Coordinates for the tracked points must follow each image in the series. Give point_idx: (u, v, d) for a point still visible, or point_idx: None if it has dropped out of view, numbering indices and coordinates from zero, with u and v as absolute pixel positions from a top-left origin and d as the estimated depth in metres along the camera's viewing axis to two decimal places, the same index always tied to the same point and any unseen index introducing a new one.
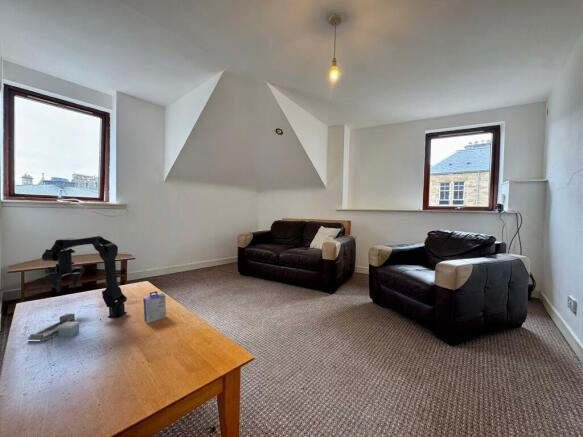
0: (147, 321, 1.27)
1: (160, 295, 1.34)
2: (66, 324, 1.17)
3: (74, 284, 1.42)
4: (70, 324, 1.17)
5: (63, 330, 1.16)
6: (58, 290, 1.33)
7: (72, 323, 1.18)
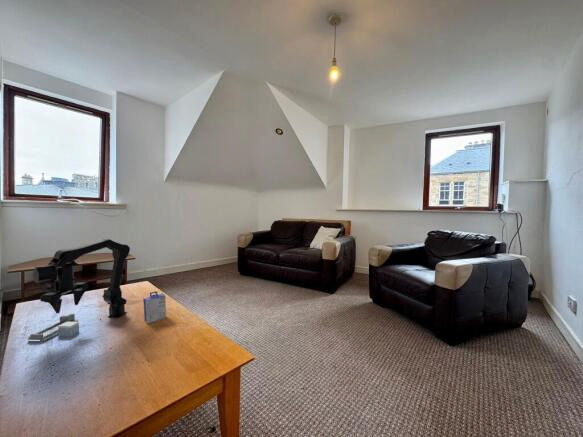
0: (147, 321, 1.27)
1: (160, 295, 1.34)
2: (66, 324, 1.17)
3: (76, 303, 1.22)
4: (70, 324, 1.17)
5: (63, 330, 1.16)
6: (57, 311, 1.12)
7: (72, 323, 1.18)
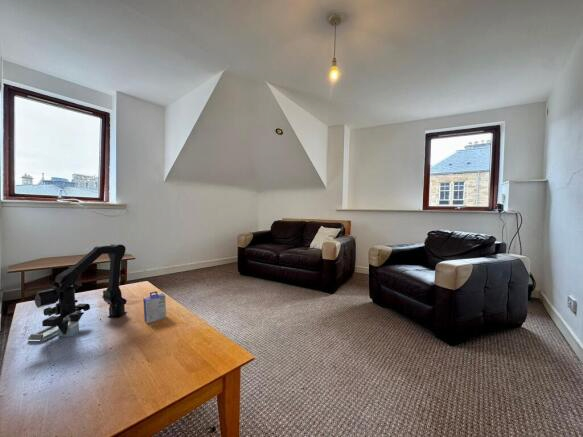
0: (147, 321, 1.27)
1: (160, 295, 1.34)
2: None
3: None
4: (70, 323, 1.17)
5: None
6: (64, 332, 1.15)
7: (72, 323, 1.18)
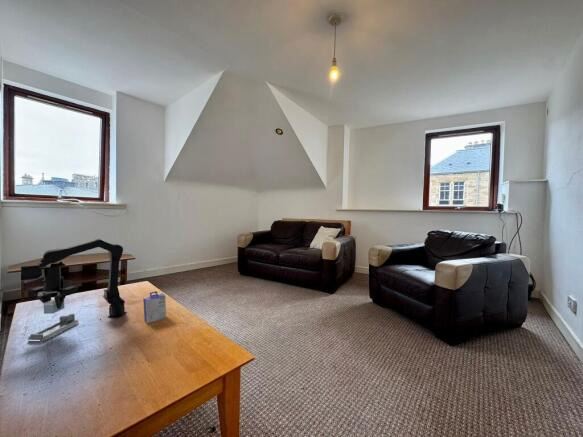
0: (147, 321, 1.27)
1: (160, 295, 1.34)
2: (53, 300, 1.19)
3: None
4: (50, 301, 1.17)
5: None
6: None
7: (51, 301, 1.17)
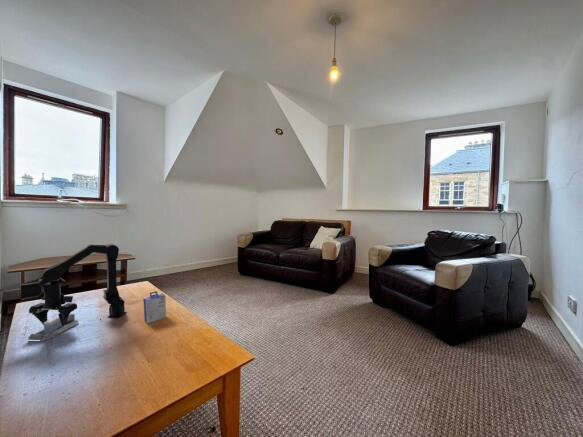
0: (147, 321, 1.27)
1: (160, 295, 1.34)
2: (53, 319, 1.20)
3: None
4: (50, 320, 1.18)
5: None
6: None
7: (52, 321, 1.18)
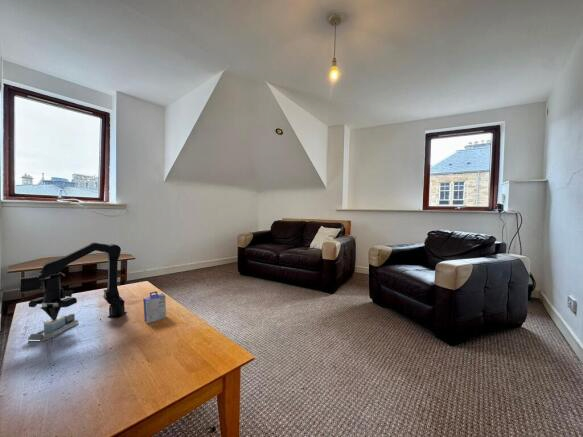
0: (147, 321, 1.27)
1: (160, 295, 1.34)
2: None
3: None
4: (50, 320, 1.18)
5: None
6: None
7: (52, 321, 1.18)
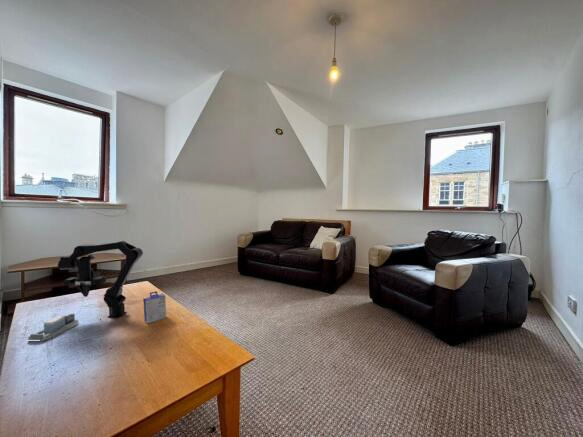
0: (147, 321, 1.27)
1: (160, 295, 1.34)
2: (53, 319, 1.20)
3: None
4: (50, 320, 1.18)
5: None
6: None
7: (52, 321, 1.18)
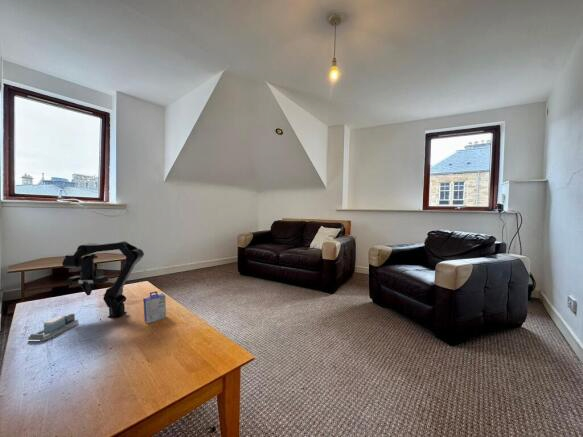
0: (147, 321, 1.27)
1: (160, 295, 1.34)
2: (53, 319, 1.20)
3: None
4: (50, 320, 1.18)
5: None
6: None
7: (52, 321, 1.18)
